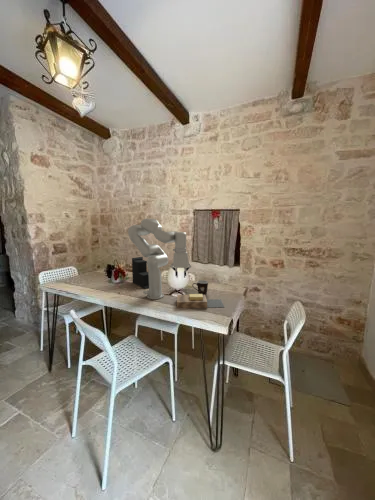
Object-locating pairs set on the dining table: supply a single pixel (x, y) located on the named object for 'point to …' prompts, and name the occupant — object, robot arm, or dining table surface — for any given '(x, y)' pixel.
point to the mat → (215, 303)
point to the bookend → (140, 272)
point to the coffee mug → (202, 287)
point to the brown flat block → (190, 302)
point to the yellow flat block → (196, 296)
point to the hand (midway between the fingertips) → (180, 276)
